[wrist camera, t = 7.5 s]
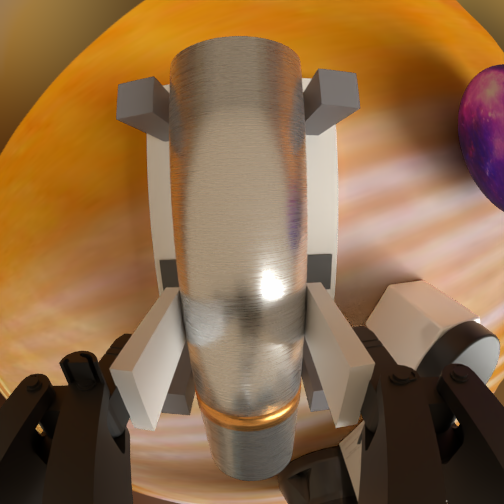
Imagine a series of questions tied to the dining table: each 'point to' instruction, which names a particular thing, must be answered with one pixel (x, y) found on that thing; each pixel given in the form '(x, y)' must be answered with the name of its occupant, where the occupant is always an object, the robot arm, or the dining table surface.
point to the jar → (432, 331)
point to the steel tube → (241, 242)
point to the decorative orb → (484, 132)
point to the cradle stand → (318, 192)
